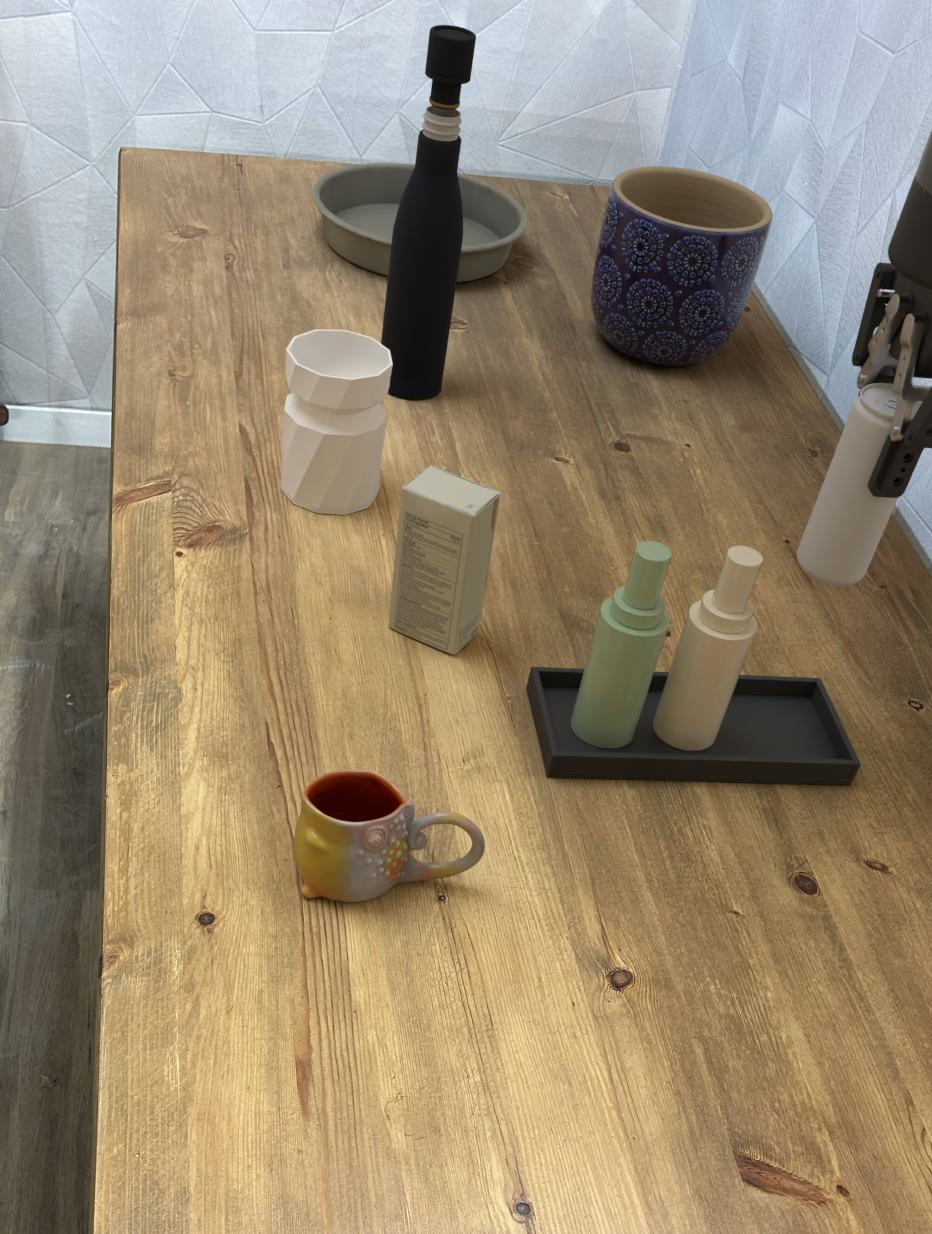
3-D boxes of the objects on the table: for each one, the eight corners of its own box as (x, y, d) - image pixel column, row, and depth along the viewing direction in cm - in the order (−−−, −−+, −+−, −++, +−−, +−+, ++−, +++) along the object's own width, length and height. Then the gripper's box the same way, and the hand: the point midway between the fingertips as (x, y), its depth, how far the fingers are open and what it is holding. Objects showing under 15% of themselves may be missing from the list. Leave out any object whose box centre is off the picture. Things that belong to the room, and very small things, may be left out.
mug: (283, 900, 85) (289, 824, 80) (301, 826, 89) (307, 749, 85) (471, 930, 85) (488, 856, 80) (479, 855, 90) (495, 780, 85)
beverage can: (779, 564, 91) (843, 394, 82) (819, 541, 93) (884, 374, 84) (838, 599, 89) (910, 428, 80) (877, 574, 91) (951, 407, 82)
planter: (730, 393, 139) (776, 244, 128) (573, 363, 140) (606, 211, 129) (730, 326, 151) (772, 183, 140) (584, 298, 151) (615, 153, 140)
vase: (358, 525, 114) (372, 390, 106) (263, 497, 116) (269, 361, 107) (392, 478, 120) (408, 346, 111) (301, 451, 121) (310, 319, 112)
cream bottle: (707, 710, 102) (769, 537, 91) (722, 752, 99) (789, 578, 88) (646, 708, 101) (702, 533, 90) (660, 750, 98) (719, 574, 87)
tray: (811, 699, 106) (820, 677, 104) (850, 785, 99) (861, 764, 98) (525, 688, 102) (531, 666, 101) (547, 777, 96) (552, 755, 94)
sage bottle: (627, 707, 101) (680, 532, 90) (640, 749, 98) (697, 573, 87) (565, 705, 100) (611, 528, 89) (576, 748, 97) (625, 569, 86)
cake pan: (558, 248, 159) (565, 208, 156) (452, 312, 144) (458, 269, 141) (384, 184, 166) (388, 144, 163) (266, 238, 151) (267, 195, 148)
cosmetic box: (480, 632, 106) (506, 492, 97) (453, 658, 104) (478, 517, 95) (410, 600, 108) (430, 461, 99) (382, 626, 105) (400, 484, 96)
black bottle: (369, 391, 130) (406, 33, 108) (386, 363, 135) (424, 14, 113) (433, 406, 130) (483, 50, 108) (447, 377, 134) (498, 30, 112)
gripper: (1105, 245, 69) (964, 537, 82) (999, 142, 78) (888, 418, 91) (970, 233, 68) (848, 530, 80) (878, 130, 77) (782, 411, 90)
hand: (870, 469), depth 86 cm, fingers closed on beverage can, 5 cm apart
